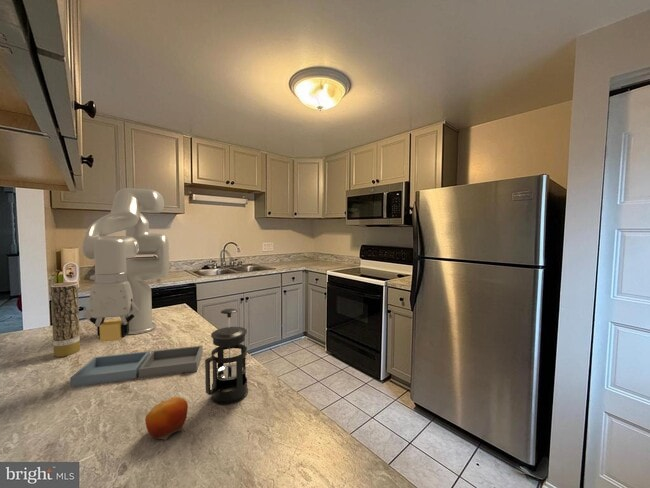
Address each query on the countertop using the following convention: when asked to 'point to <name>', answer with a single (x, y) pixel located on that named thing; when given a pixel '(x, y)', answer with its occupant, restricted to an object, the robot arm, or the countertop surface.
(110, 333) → the ochre block
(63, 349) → the paper tube
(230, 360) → the french press
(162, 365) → the charcoal tray
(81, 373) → the slate-blue tray
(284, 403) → the countertop surface
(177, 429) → the fruit
